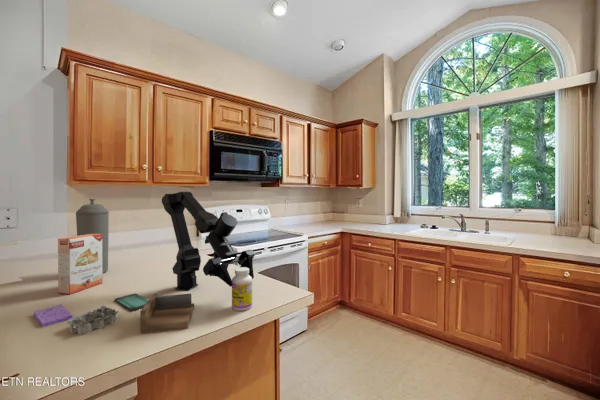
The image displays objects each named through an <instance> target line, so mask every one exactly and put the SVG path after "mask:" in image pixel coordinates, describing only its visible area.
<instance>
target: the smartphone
mask: <svg viewBox="0 0 600 400" xmlns="http://www.w3.org/2000/svg"><path fill="white" fill-rule="evenodd" d="M149 300H150V299H148V298H145V297H144V296H142V295H140V294H138V293H132V294H128V295H127V294H126V295H124V296H120V297H117V298H114V300H113V301H114V302H115V303H117V304H119V305H120V307H121V308H124V309H125V310H127V311H129V312H133V311H134V312H136V311H140V310H142V309H143V307H144V306H145V305H146V303H147V302H148V301H149ZM139 309H140V310H139Z"/></svg>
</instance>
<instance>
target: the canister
mask: <svg viewBox="0 0 600 400" xmlns="http://www.w3.org/2000/svg"><path fill="white" fill-rule="evenodd" d="M88 200H89V201H90V203H89V204H84V205H82V206H80V208H78V210H77V211H76V212H75V223H76V224H75V225H76V236H80V235H87V234H102V274H104V273H106V272H108V270H109V230H110V229H109V225H110V223H109V217H110V216H109V213H110V212H109V210H108V209H107V208H106V207H105V206H104V205H102V204H98V203H97V204H95V201H96V199H95V198H89V199H88Z"/></svg>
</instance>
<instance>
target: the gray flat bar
mask: <svg viewBox="0 0 600 400" xmlns="http://www.w3.org/2000/svg"><path fill="white" fill-rule="evenodd" d="M192 299H193V298H192V293H183V294H182V293H181V294H168V295H158V296H157V297H156V311H157V310H168V309H180V308H191V306H192V304H193V301H192Z"/></svg>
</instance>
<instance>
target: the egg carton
mask: <svg viewBox="0 0 600 400" xmlns="http://www.w3.org/2000/svg"><path fill="white" fill-rule="evenodd" d="M118 313H119V310H117V311H116V309H115V308H112V307H109V306H108V307H107V306H105V305H102V306H100V307H98V308H97V309H94V310H92V311H87V312H86V313H83V314H81V315H79V316H78V315H77V316H73V318H71V319H69V320H67V322H66V324H69V332H70V334H73V333H77V335H79V336H81V335H86V334H90V333H92V331H93V330H95V329H101V328H103V327H104V326H105V325H106V324H111V323H114V322H115V323H116V319H117V315H118Z"/></svg>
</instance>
